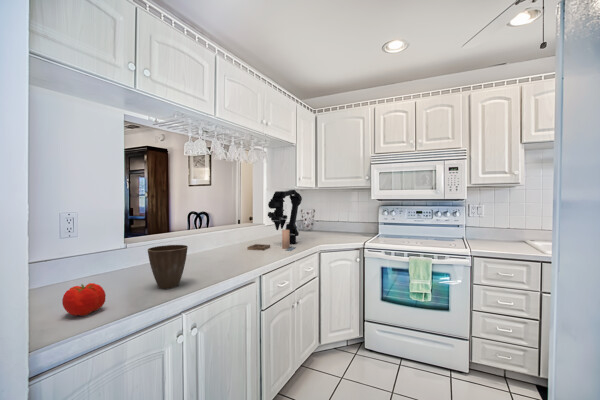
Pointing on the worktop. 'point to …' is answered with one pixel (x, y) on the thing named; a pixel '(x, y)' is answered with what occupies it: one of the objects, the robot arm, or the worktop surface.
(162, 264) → the plant pot
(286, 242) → the terracotta peg
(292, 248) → the slate-blue mat
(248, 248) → the walnut puzzle board
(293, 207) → the robot arm
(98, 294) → the tomato
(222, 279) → the worktop surface
